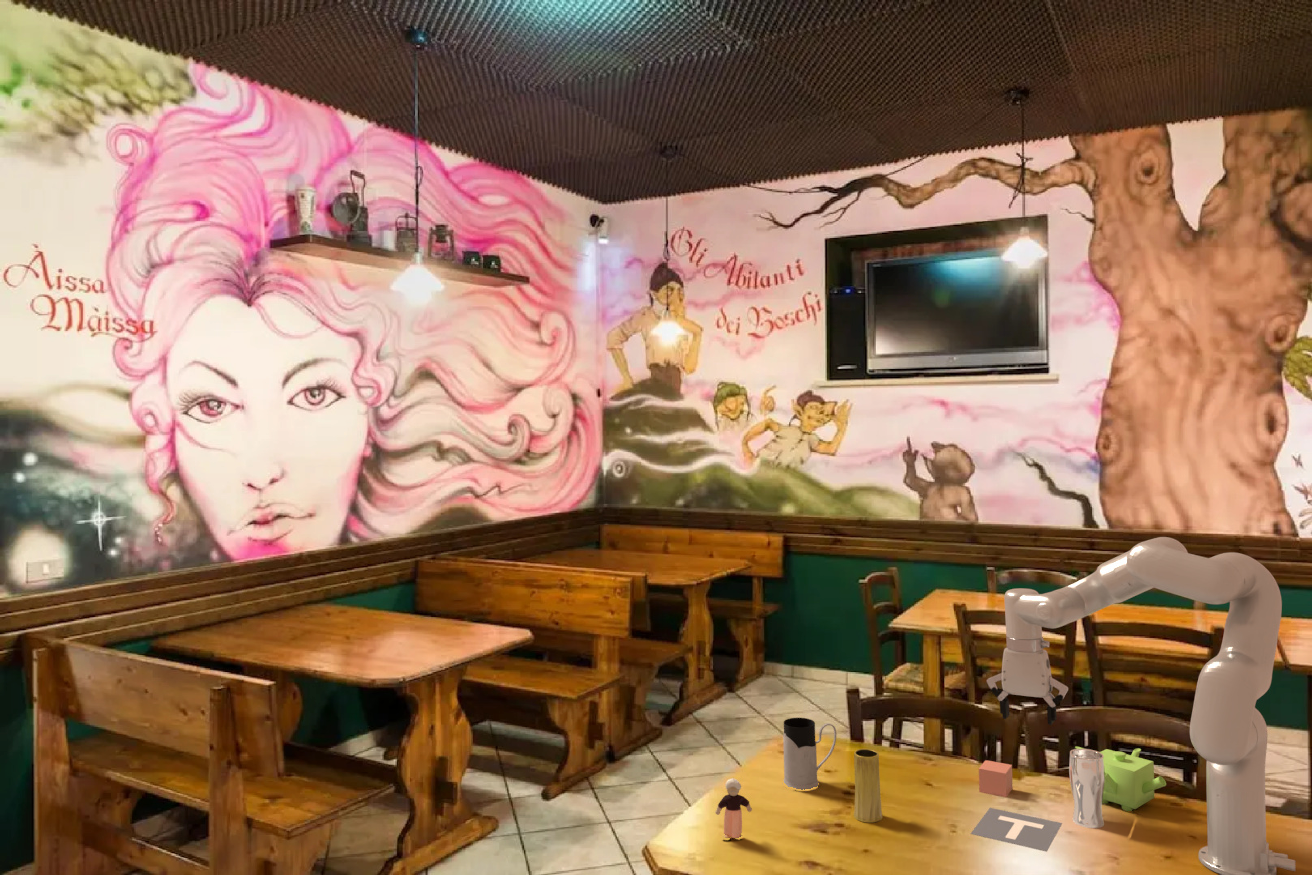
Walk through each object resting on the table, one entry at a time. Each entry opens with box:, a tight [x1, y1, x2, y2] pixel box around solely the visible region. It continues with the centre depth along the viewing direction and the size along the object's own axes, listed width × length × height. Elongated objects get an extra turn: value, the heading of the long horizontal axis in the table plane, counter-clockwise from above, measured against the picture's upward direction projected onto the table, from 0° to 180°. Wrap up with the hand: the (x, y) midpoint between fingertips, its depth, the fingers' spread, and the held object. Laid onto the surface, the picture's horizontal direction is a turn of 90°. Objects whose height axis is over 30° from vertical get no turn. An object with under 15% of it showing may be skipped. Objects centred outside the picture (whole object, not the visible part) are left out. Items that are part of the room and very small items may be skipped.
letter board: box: [970, 807, 1063, 852], centre depth 192 cm, size 15×15×1 cm
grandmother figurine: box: [714, 777, 753, 839], centre depth 192 cm, size 8×4×13 cm, turn 105°
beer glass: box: [1068, 748, 1105, 829], centre depth 194 cm, size 7×7×15 cm
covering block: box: [978, 759, 1014, 798], centre depth 212 cm, size 6×6×6 cm
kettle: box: [1074, 746, 1167, 812], centre depth 204 cm, size 15×14×11 cm
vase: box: [853, 748, 883, 824], centre depth 200 cm, size 6×6×14 cm
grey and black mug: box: [782, 717, 837, 790], centre depth 220 cm, size 9×14×15 cm, turn 107°
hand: (1028, 720), depth 204 cm, fingers open, 9 cm apart
